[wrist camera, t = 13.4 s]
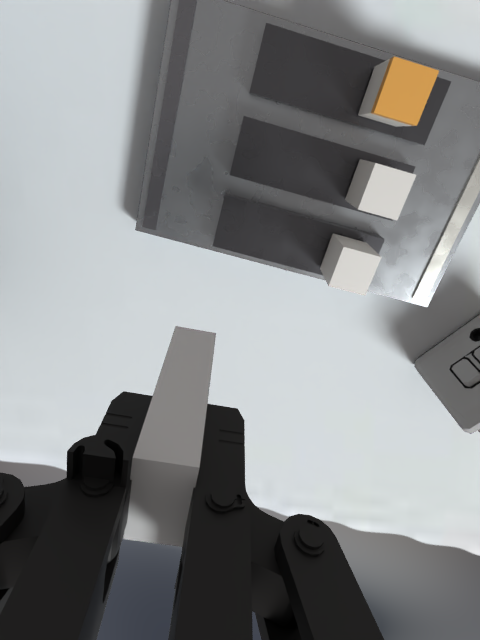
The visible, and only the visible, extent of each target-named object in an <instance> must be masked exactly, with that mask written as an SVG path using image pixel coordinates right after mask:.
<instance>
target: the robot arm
mask: <svg viewBox="0 0 480 640" xmlns="http://www.w3.org/2000/svg"><path fill="white" fill-rule="evenodd" d="M215 337H216V333H212V332H206V331H200V330H195V329H189V328H183V327H178V326H176V327H175V330H174V333H173V336H172V339H171V342H170V345H169V348H168V351H167V354H166V357H165V360H164V363H163V366H162V369H161V373H160V376H159V379H158V382H157V385H156V388H155V391H154V394H153V396H149V395H143V394H136V393H130V392H122V393H121V394H120V395H119V396H117V397H116V398H115V399H113V400H112V402H111V404H110V406H109V408H108V410H107V412H106V415H105V416H104V418H103V421H102V423H101V425H100V427H99V429H98V431H97V433H96V435H93V436H89V437H85V438H83V439H81V440H79V441H78V442H76V443H74V444H73V445H72V447H71V448H70V449H69V450H68V451H67V478H65V479H63V480H61V481H58V482H56V483H51V484H46V485H39V486H31V487H24V486H23V484H22V482H21V481H20V479H18V478H16V477H15V476H13V475H10V474H5V473H0V640H96V639H97V636H98V632H99V628H100V625H101V621H102V618H103V614H104V611H105V607H106V604H107V600H108V596H109V593H110V589H111V585H112V582H113V578H114V575H115V571H116V568H117V564H118V559H119V549H120V545H121V541H122V538H123V535H124V539H127V540H135V541H142V542H150V543H157V544H165V545H173V546H181V547H182V554H181V559H180V565H179V570H178V574H177V579H176V584H175V589H176V590H175V597H174V603H173V610H172V618H171V624H170V632H169V638H168V640H252V611H253V612H255V615H256V619H257V623H258V627H259V631H260V635H261V639H262V640H384V638H383V636H382V634H381V632H380V630H379V628H378V626H377V623H376V621H375V619H374V617H373V615H372V613H371V611H370V609H369V606H368V604H367V602H366V600H365V598H364V596H363V594H362V592H361V589H360V587H359V585H358V583H357V581H356V579H355V577H354V575H353V572H352V570H351V568H350V566H349V564H348V562H347V560H346V558H345V555H344V553H343V551H342V549H341V547H340V545H339V543H338V540H337V538H336V537H335V535H334V534H333V532H332V531H331V529H330V528H329V527H328V526H327V525H326V524H324V523H323V522H322V521H321V520H319V519H317V518H315V517H312V516H310V515H303V514H297V515H294V516H290V517H289V518H288V519H287V520H286V521H284V522H283V521H281V520H279V519H277V518H275V517H272V516H270V515H268V514H266V513H265V512H263V511H261V510H260V509H259V508H257V507H256V506H255V505H254V504H253V503H252V501H251V500H250V499H249V497H248V495H247V492H246V488H245V446H244V444H245V442H244V419H243V417H242V416H241V414H240V412H239V410H238V409H236V408H230V407H224V406H218V405H211V404H207V403H208V394H209V386H210V378H211V370H212V362H213V354H214V345H215Z"/></svg>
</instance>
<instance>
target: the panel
mask: <svg viewBox="0 0 480 640" xmlns="http://www.w3.org/2000/svg"><path fill="white" fill-rule="evenodd" d="M394 56H395V57H398V58H401V59H404V60H408V61H411V62H414V63H417V64H420V65H423V66H426V67H429V68H433V69H436V70H439V73H438V75H437V78H436V80H435V83H434V85H433V88H432V90H431V92H430V95H429V97H428V100H427V102H426V105H425V107H424V110H423V112H422V115H421V117H420V120H419V122H418V124H417V126H397V127H395V126H392V125H389V124H385V123H382V122H379V121H375V120H372V119H369V118H365V117H362V116H359V115H358V113H359V110H360V107H361V104H362V102H363V99H364V96H365V93H366V90H367V87H368V84H369V81H370V78H371V76H372V73H373V70H374V67H375V66H377V65H379V64H380V63H382V62H384V61H386V60H388V59H390V58H392V57H394ZM360 159H362V160H366V161H370V162H374V163H378V164H381V165H384V166H388V167H391V168H395V169H398V170H401V171H405V172H408V173H412V174H415V175H416V178H415V180H414V182H413V185H412V187H411V189H410V192H409V194H408V196H407V199H406V201H405V203H404V206H403V208H402V210H401V213H400V215H399V218H398V220H393V219H390V218H386V217H383V216H379V215H376V214H372V213H369V212H365V211H362V210H358V209H357V208H355V207H354V206H352V205H351V204H350V203H348V202H347V201H346V200H345V198H346V196H347V193H348V190H349V187H350V185H351V182H352V179H353V176H354V174H355V171H356V168H357V165H358V163H359V160H360ZM479 203H480V82H478V81H475V80H472V79H469V78H466V77H463V76H459V75H456V74H453V73H450V72H447V71H444V70H441V69H437V68H434V67H431V66H428V65H425V64H422V63H419V62H416V61H412V60H409V59H406V58H403V57H400V56H397V55H394V54H390V53H387V52H384V51H381V50H378V49H375V48H372V47H369V46H365V45H362V44H359V43H356V42H353V41H350V40H347V39H343V38H340V37H337V36H334V35H331V34H328V33H325V32H322V31H318V30H315V29H312V28H309V27H306V26H303V25H300V24H296V23H293V22H290V21H287V20H284V19H281V18H278V17H275V16H271V15H268V14H265V13H262V12H259V11H256V10H253V9H249V8H246V7H243V6H240V5H237V4H234V3H231V2H228V1H224V0H171V4H170V10H169V16H168V23H167V29H166V36H165V42H164V49H163V55H162V62H161V68H160V75H159V81H158V87H157V94H156V100H155V107H154V113H153V120H152V126H151V133H150V139H149V145H148V152H147V158H146V165H145V171H144V178H143V184H142V191H141V197H140V203H139V210H138V216H137V223H136V229H135V230H137V231H141V232H145V233H148V234H152V235H156V236H160V237H163V238H167V239H171V240H175V241H179V242H182V243H186V244H190V245H194V246H197V247H201V248H205V249H209V250H213V251H216V252H220V253H224V254H228V255H231V256H235V257H239V258H243V259H247V260H250V261H254V262H258V263H262V264H266V265H269V266H273V267H277V268H281V269H284V270H288V271H292V272H296V273H300V274H303V275H307V276H311V277H315V278H318V279H322V280H325V278H324V276H323V274H322V272H321V270H320V267H321V264H322V262H323V259H324V256H325V253H326V251H327V248H328V245H329V242H330V240H331V237H332V234H333V233H334V234H337V235H341V236H344V237H348V238H352V239H355V240H359V241H363V242H366V243H367V244H368V245H370V246H371V247H372V248H373V249H374V250H375V251H376V252H377V253H378V254H379V255H380V256H381V260H380V262H379V264H378V267H377V269H376V272H375V274H374V276H373V279H372V281H371V283H370V286H369V288H368V290H367V291H368V292H371V293H375V294H379V295H383V296H386V297H390V298H394V299H398V300H402V301H405V302H409V303H413V304H417V305H420V306H424V307H428V305H429V303H430V301H431V299H432V297H433V295H434V293H435V291H436V289H437V287H438V285H439V283H440V281H441V279H442V277H443V275H444V273H445V271H446V269H447V267H448V265H449V263H450V261H451V259H452V257H453V255H454V253H455V251H456V249H457V247H458V245H459V243H460V241H461V239H462V237H463V235H464V233H465V231H466V229H467V227H468V225H469V223H470V221H471V219H472V217H473V215H474V213H475V211H476V209H477V207H478V205H479Z"/></svg>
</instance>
